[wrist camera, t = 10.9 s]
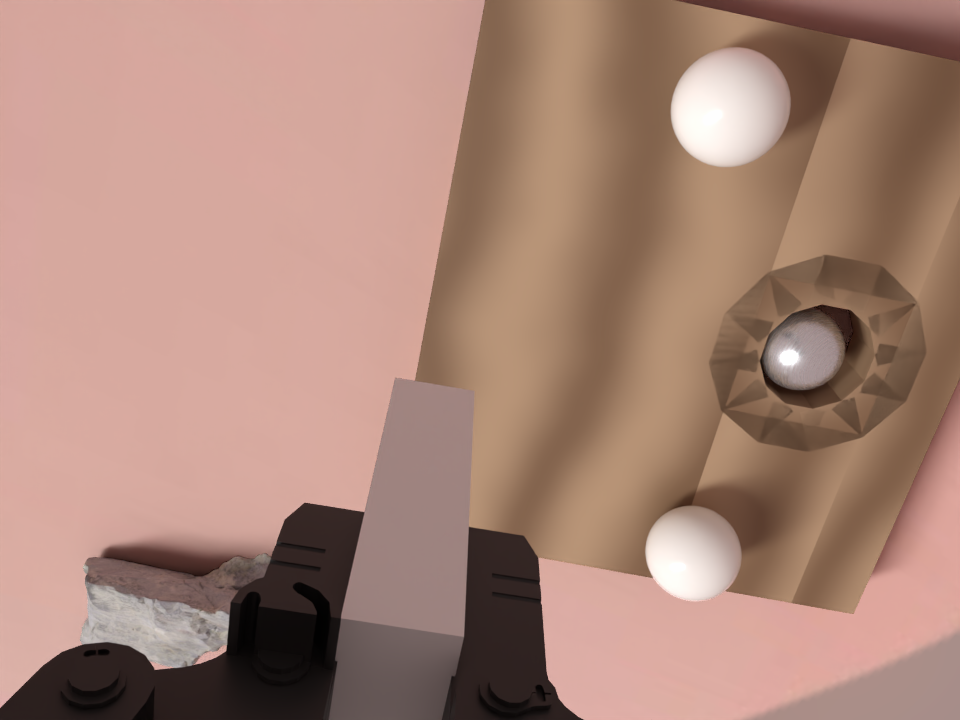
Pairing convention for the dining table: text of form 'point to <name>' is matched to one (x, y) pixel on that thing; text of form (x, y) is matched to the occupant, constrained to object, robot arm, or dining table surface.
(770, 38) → the board
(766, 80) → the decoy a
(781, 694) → the dining table surface
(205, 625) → the stone
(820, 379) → the steel ball
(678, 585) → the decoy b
